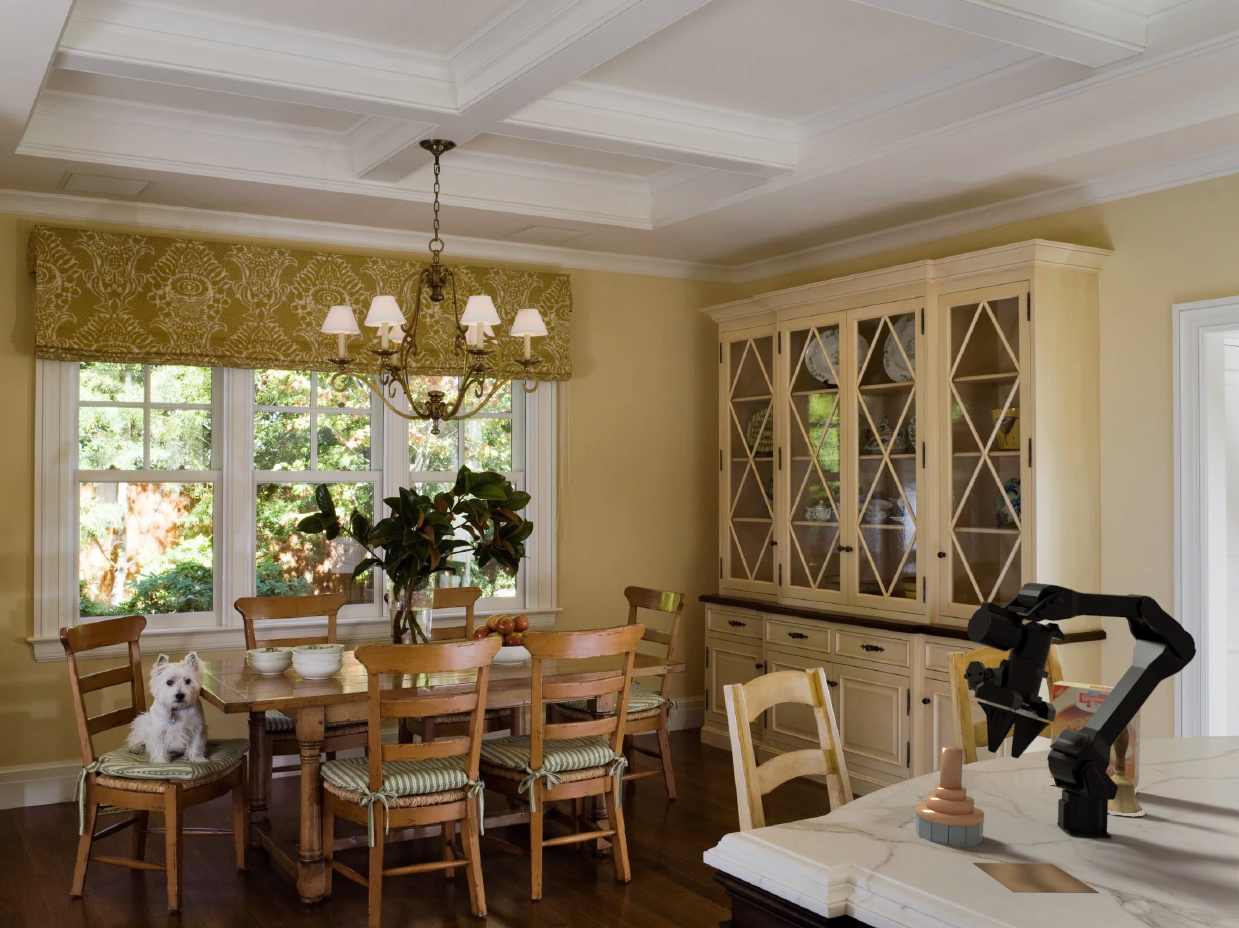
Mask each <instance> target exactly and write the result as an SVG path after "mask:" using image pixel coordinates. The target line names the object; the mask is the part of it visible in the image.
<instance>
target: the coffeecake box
mask: <svg viewBox="0 0 1239 928" xmlns="http://www.w3.org/2000/svg"><path fill="white" fill-rule="evenodd" d="M1114 687H1115V686H1110V685H1100V684H1099V685H1098V684H1093V683H1092V684H1091V683H1082V682H1075V681H1074V682H1073V681H1065V680H1058V681H1055V682H1054V683H1053V685H1052V703H1051V704H1052V705H1053V706H1054V708H1055V710H1056V714H1055V718H1054V722H1052V721H1051V734H1050V735H1051V736H1050V737H1051V738H1050V739H1051V740H1050V742H1051V743H1050V745H1052V744H1053V743H1055V742H1056V741H1057V739H1058V738H1059V736H1060V734H1061V732H1062V731H1063V730H1064V729H1069V730H1072V731H1075V732H1076V731H1079V730H1081V729H1082V728H1083V727H1084V726H1085V725H1086V724H1087V722H1088V721H1089V720H1090V719H1091V717H1092V716H1093V715H1094V713H1095V712H1096V711H1097V709H1098V708H1099V707H1100V706H1101V704H1102V703H1103V702H1104V700H1105V699H1106V698H1107V696H1108V695H1109V694H1110V693H1111V691H1112V690H1113V689H1114ZM1141 709H1142V708H1140V709H1139V710H1138V712H1137V713H1136V714H1135V716H1134V717H1133V718H1132V720H1131V721H1130V722H1129V724H1128V725H1127V729H1128V733H1129V744H1128V749H1127V751H1126V755H1125V776H1126V777H1127V778H1128V779H1129V780H1131V781H1132V782H1133V783H1134V790H1135V788H1136V787H1137V785H1138V783H1140V751H1141V750H1140V749H1141V747H1140V746H1141V745H1140V744H1141ZM1052 749H1053V748H1050V751H1051V750H1052ZM1115 760H1116V754H1115V749H1114V745H1112V747H1111V751H1110V764H1109V766H1108V768H1107V770H1106V773H1107V774H1108V775H1109V777H1112V776H1114V774H1115V767H1116V766H1115ZM1049 773H1050V774H1049V779H1050V778H1053V775H1052V774H1051V772H1050V771H1049Z"/></svg>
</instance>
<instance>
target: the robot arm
mask: <svg viewBox="0 0 1239 928" xmlns="http://www.w3.org/2000/svg"><path fill="white" fill-rule="evenodd" d="M1019 589H1020V590H1019V592H1018V594H1017V595H1016V596H1014V597H1013V598H1012V599H1011V600H1010V601H1008V603H1006V604H1005V605H1004V606H1003V607H1002V606H999V605H998V604H996V603H994V602H991V601H982V602H981V605H980V608H978V609H977V610H975V612H974V613H973V614H972V616H971V618H969V620H968V623H967V636H968V638H969V640H970V641H971V642H973V643H975V644H979V645H982V646H985V647H988V648H992V649H995V650H997V651H1001V652H1009V653H1008V657H1007V659H1006V658H1002V660H1000V662H999V665H998V667H990V666H989V667H988V666H987V667H986V666H985V665H984V663H983V662H982V661H979V660H975V661H969V664H968V666H967V668H966V669H965V673H963V679H965V680H966V681H967V689H968V691H974V696H973V698H976V699H979V700H976V702H977V705H978V706H980V708H982V709H981V710H982V711H983V713H984V714H985V717H986V729H987V730H986V731H987V751H988V752H989V753H993V754H996V753H997V751H998V750H999V749H1000V747H1001V746H1002V744H1003V742H1004V741H1005V739H1006V737H1007V735H1008V734H1009V732H1010V731H1011V729H1012V727H1013V732H1012V733H1013V734H1012V740H1011V752H1010V756H1011V758H1015V759H1019V758H1020V757H1021V756H1022V755H1023V753H1024V752H1025V751H1026V750H1027V749H1028V747H1029V746H1030V745H1031V744H1032V743H1033V742H1034V740H1035V739H1036V738H1037V737H1038V736H1039V735H1040V734H1041V733H1042V732H1043V731H1044V730H1045V729H1046V727H1049V726H1050V724H1051V723H1052V722H1054V718H1055V714H1056V710H1055V708H1054V706H1053V705H1052V703H1050V702H1048V701H1044V700H1043V697H1042V696H1039V694H1040V690H1041V688H1042V682H1043V679H1049V678H1048V677H1049V673H1050V672H1048V671H1046V667H1047V662H1048V659H1049V658H1048V657H1049V654H1050V650H1051V646H1052V642H1053V639H1055V640H1059V641H1065V640H1066V638H1067V637H1066V635H1065V634H1064V632H1063V631H1062V629H1061V628H1060V626H1059V624H1058V623H1055V622H1057V621H1063V620H1069V619H1074V618H1076V617H1082V616H1088V617H1090V616H1091V617H1108V618H1110V617H1112V618H1124V619H1126V620H1127V624H1128V629H1129V632H1130V634H1131V635H1132V637H1133V638H1134V639H1135V640H1136V643H1135V645H1134V647H1133V652H1132V653H1133V655H1132V664H1131V665H1130V667H1128V669H1127V670H1126V672H1125V673H1124V674H1123V676H1122V677H1120V680H1119V681H1118V682H1117V683H1116V685H1115V686H1113V687H1114V689H1113V690H1112V691H1111V693H1110V694H1109V695H1108V696H1107V698H1106V699H1105V700H1104V702H1103V703H1102V704H1101V706H1100V707H1099V708H1098V709H1097V711H1096V712H1095V713H1094V715H1093V716H1092V717H1091V719H1090V720H1089V721H1088V722H1087V724H1086V725H1085V726H1084V727H1083V728H1082V729H1081V730H1079V731H1076V732H1075V731H1072V730H1069V729H1064V730H1063V731H1062V732H1061V734H1060V736H1059V738H1058V739H1057V741H1056V742H1055V743H1053V744H1052V745H1051V744H1050V745H1049V748H1050V751H1049V753H1048V755H1047V759H1046V760H1047V762H1048V763H1047V764H1048V769H1049V773H1050V772H1051V774H1052V775H1053V778H1054V781H1055V785H1056V786H1055V787H1056V788H1058V789H1059V788H1060V789H1061V798H1059V799H1058V801H1057V802H1058V804H1057V805H1058V806H1057V807H1058V808H1057V822H1056V825H1057V826H1058V827H1059V828H1060V829H1061V830H1063V831H1064V832H1066V833H1067V834H1069V835H1070V836H1074V837H1075V836H1076V837H1077V836H1078V837H1088V838H1089V837H1092V838H1093V837H1094V838H1104V839H1105V838H1107V839H1111V838H1112V834H1111V833H1110V832H1108V815H1109V814H1108V800H1114V799H1115V796H1116V793H1117V790H1118V786H1117V785H1116V784H1115V783H1114V781H1113V780H1112V779H1111V778H1110V777H1109V775H1108V774H1107V773H1106V770H1107V768H1108V766H1109V764H1110V751H1111V747H1112V745H1113V743H1114V742H1115V741H1116V739H1117V738H1118V737H1119V736H1120V734H1121V733H1122V732H1123V730H1124V729H1125V728H1126V726H1127V725H1128V724H1129V722H1130V721H1131V720H1132V718H1133V717H1134V716H1135V714H1136V713H1137V712H1138V710H1139V709H1140V708H1141V707H1142V706H1143V705H1144V704H1145V703H1146V701H1147V700H1148V699H1149V698H1150V696H1151V695H1152V693H1153V692H1154V690H1156V689H1157V687H1158V686H1159V684H1160V683H1161V682H1162V681H1164V680H1166V679H1168V678H1170V677H1172V676H1173V675H1176V674H1178V673H1180V672H1181V671H1182V670H1183V669H1184V668H1186V666H1187V665H1188V664H1189V663H1191V662H1192V661H1193V659H1194V658H1195V656H1196V653H1197V648H1196V642H1195V640H1194V637H1193V636H1192V633H1190V632H1188V631H1187V630H1185V628H1184V627H1183V626H1182V624H1181V623H1180V622H1179V621H1178V620H1176V619H1175V618H1174V617H1172V616H1171V615H1170V614H1169V613H1168V612H1166V611H1165V610H1164V609H1163V608H1162V607H1161V606H1160V604H1159V603H1158V602H1157V601H1156V599H1154V598H1153V597H1151V596H1149V595H1142V594H1133V593H1131V594H1126V595H1124V594H1109V593H1092V592H1080V591H1077V590H1075V589H1071V588H1068V587H1065V586H1060V585H1056V584H1049V583H1039V582H1027V583H1024V584H1023V586H1022V587H1021V588H1019ZM1024 621H1028V622H1026V623H1023V622H1024ZM1042 621H1051V622H1048V623H1046V624H1043V623H1041V622H1042ZM980 700H982V701H985V702H982V701H980ZM1141 709H1142V708H1141ZM1042 719H1043V720H1045V721H1043V720H1042ZM1046 721H1049V722H1046ZM1050 722H1051V723H1050ZM1051 748H1053V749H1052V750H1051Z"/></svg>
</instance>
